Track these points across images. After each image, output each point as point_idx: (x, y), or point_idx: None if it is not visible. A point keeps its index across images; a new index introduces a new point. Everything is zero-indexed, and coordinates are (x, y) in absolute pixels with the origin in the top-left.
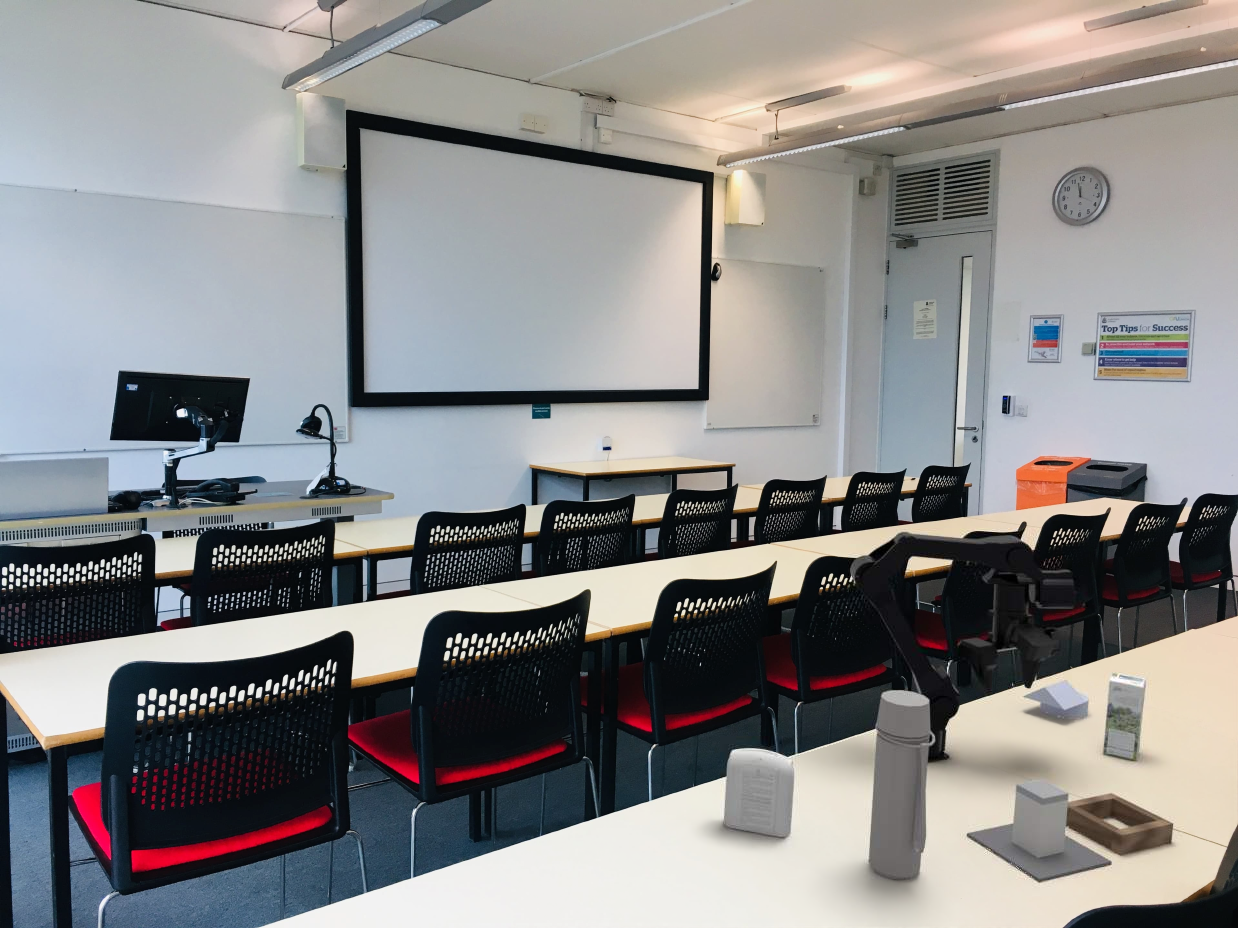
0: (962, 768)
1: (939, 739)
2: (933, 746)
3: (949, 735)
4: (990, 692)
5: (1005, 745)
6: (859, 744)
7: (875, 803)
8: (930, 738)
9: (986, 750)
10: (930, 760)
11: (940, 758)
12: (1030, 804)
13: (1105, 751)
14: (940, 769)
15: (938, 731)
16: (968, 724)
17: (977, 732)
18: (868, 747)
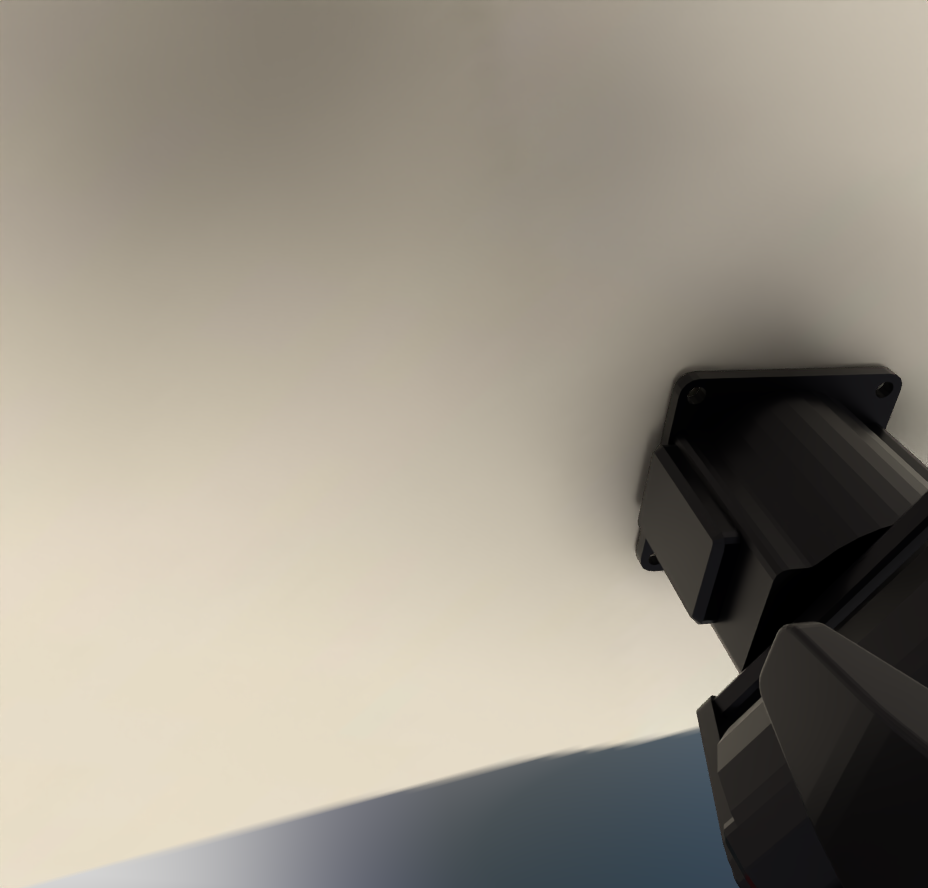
0: (742, 216)
1: (823, 461)
2: (851, 431)
3: (371, 637)
4: (832, 652)
5: (91, 435)
6: None
7: None
8: (910, 469)
9: (314, 405)
10: (837, 370)
11: (761, 373)
12: None
13: None
14: (881, 256)
15: (884, 495)
16: (114, 736)
17: (145, 640)
18: None
